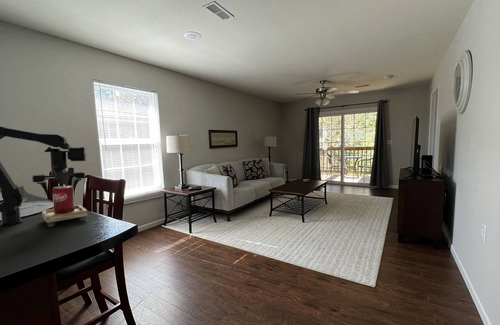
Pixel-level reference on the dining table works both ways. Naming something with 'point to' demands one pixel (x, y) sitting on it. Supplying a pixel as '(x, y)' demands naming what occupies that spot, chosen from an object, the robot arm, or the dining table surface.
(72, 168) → the robot arm
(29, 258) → the dining table surface
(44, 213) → the dolly
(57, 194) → the soda can
